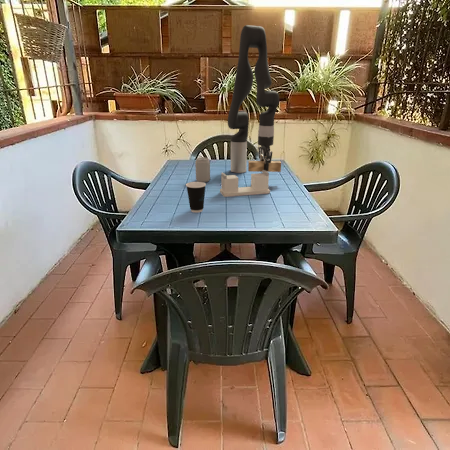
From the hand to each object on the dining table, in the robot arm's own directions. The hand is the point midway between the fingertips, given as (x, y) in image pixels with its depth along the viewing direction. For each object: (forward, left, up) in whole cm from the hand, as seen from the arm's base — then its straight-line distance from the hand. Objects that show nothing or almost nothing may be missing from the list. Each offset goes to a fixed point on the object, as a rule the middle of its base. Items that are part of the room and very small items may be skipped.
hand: (264, 169), depth 175 cm
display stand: (+12, -14, -8) cm, 20 cm away
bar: (0, 0, -1) cm, 1 cm away
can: (-14, -29, -8) cm, 33 cm away
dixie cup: (+31, -40, -8) cm, 51 cm away
